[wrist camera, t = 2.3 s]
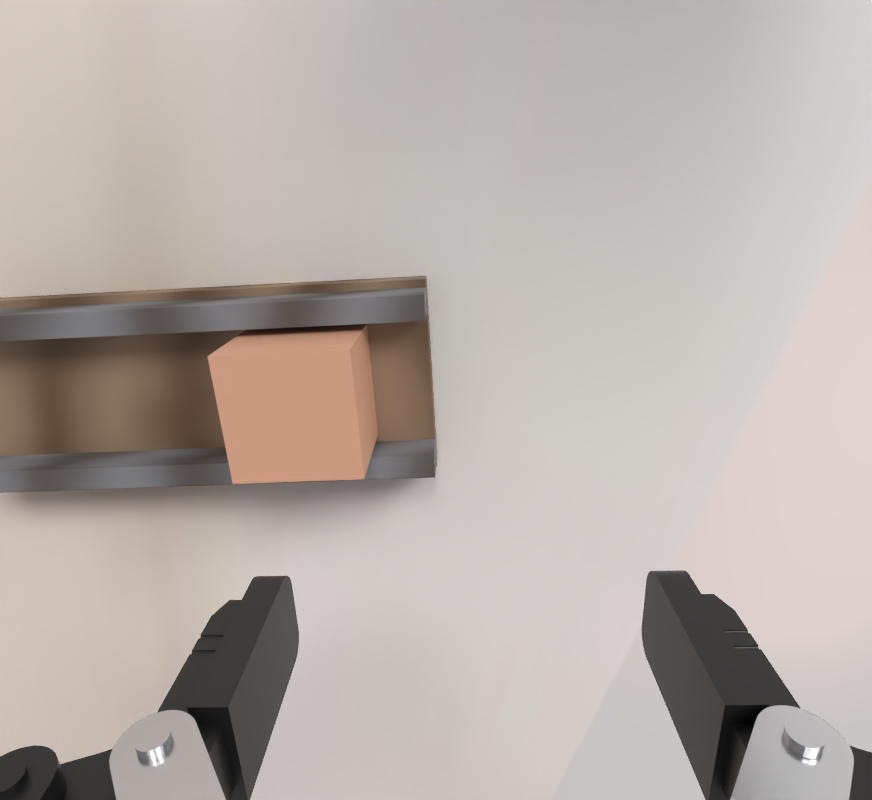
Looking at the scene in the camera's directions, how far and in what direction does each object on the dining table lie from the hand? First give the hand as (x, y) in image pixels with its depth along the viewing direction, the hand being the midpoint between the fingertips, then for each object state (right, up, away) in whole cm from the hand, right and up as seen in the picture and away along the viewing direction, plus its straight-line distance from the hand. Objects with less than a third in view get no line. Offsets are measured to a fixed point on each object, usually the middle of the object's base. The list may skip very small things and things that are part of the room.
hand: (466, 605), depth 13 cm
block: (-7, +5, +17) cm, 19 cm away
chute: (-13, +6, +18) cm, 23 cm away
